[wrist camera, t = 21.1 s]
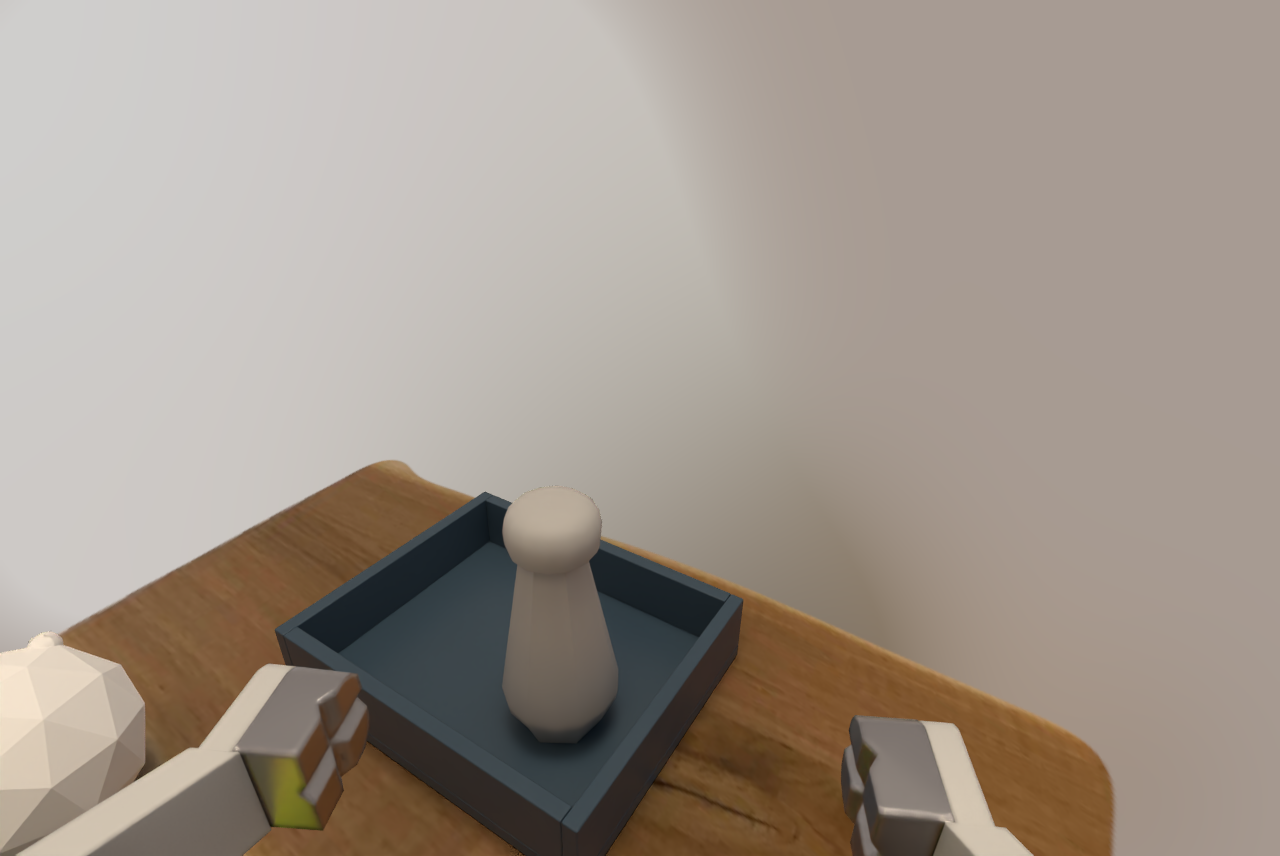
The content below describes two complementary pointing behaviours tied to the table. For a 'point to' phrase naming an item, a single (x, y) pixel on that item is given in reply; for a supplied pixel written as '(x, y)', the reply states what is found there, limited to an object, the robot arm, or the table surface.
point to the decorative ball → (62, 737)
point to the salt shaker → (556, 617)
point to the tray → (474, 666)
